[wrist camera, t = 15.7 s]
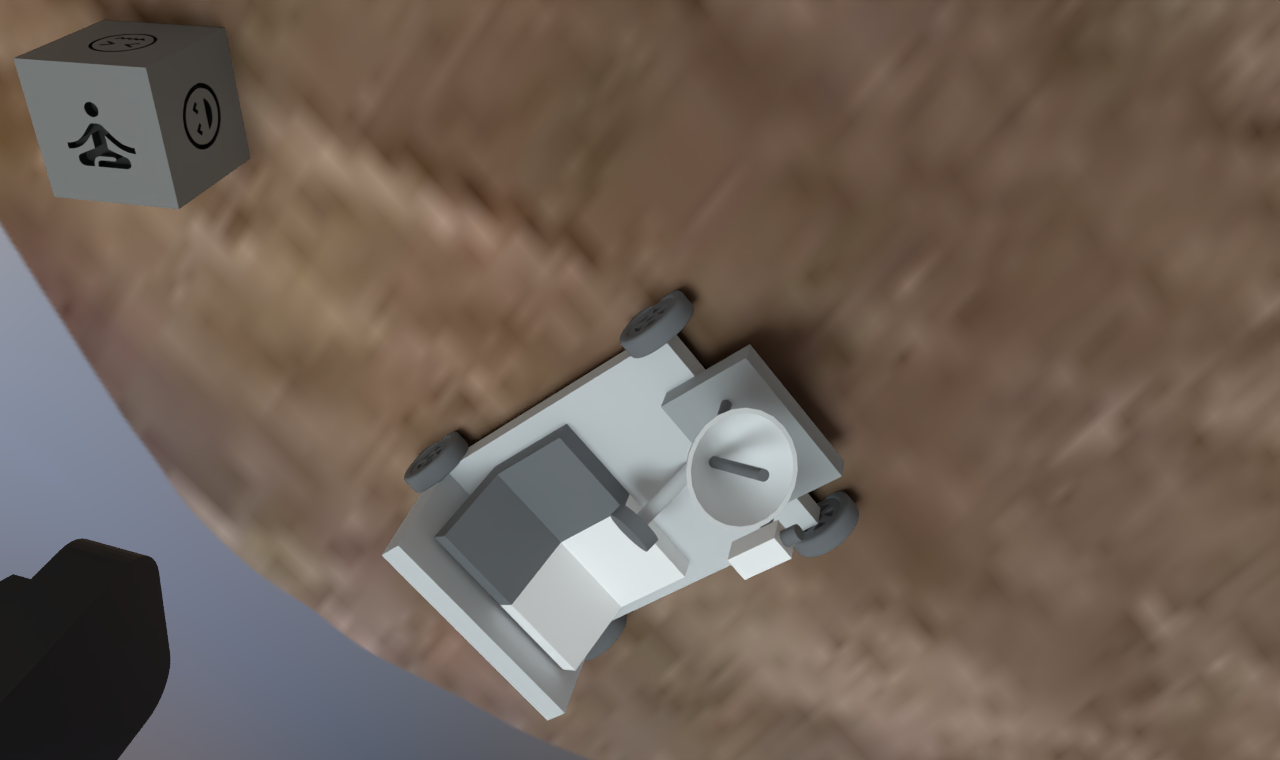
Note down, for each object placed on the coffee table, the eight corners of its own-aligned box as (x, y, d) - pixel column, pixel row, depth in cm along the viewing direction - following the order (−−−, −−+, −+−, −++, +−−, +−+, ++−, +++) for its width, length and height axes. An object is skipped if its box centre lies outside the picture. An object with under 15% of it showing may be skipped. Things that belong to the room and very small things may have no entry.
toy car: (692, 382, 34) (911, 642, 37) (743, 242, 42) (919, 466, 45) (318, 599, 43) (522, 794, 46) (420, 449, 51) (586, 624, 54)
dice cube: (136, 147, 46) (54, 196, 41) (104, 19, 43) (13, 58, 39) (250, 157, 45) (179, 209, 40) (225, 27, 42) (145, 67, 38)
